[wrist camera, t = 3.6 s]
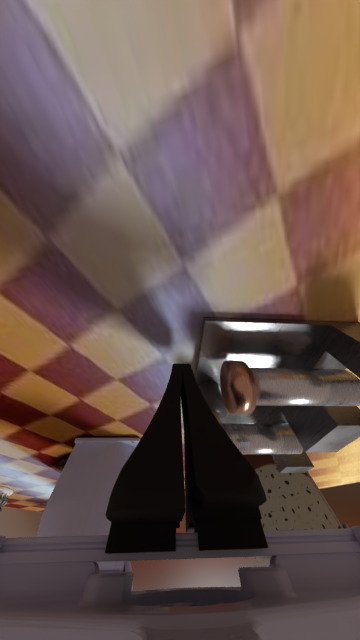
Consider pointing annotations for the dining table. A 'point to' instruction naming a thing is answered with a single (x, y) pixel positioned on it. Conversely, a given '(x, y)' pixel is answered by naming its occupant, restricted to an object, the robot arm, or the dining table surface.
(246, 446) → the silver long cylinder
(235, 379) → the copper-capped metal rod
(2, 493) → the decorative candle
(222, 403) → the potentiometer
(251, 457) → the food container
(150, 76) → the dining table surface
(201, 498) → the robot arm
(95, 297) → the dining table surface
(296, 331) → the mount
